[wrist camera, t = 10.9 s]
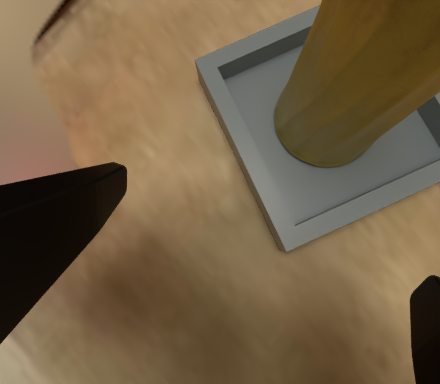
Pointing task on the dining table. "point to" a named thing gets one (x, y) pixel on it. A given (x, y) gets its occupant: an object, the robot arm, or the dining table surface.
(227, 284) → the dining table surface
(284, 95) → the vase
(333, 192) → the tray
